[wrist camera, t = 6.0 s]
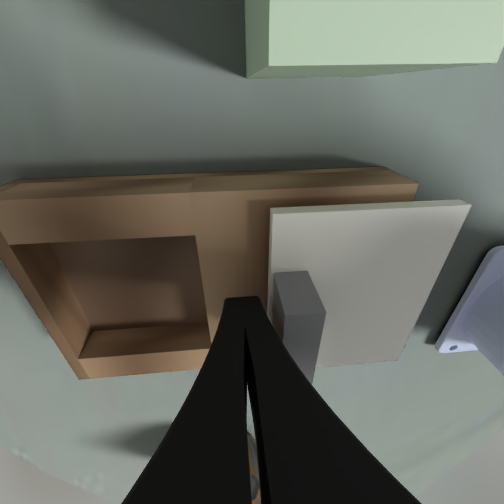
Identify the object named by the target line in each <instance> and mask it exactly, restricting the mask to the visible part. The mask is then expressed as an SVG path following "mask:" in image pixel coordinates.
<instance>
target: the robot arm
mask: <svg viewBox="0 0 504 504" xmlns="http://www.w3.org/2000/svg"><path fill="white" fill-rule="evenodd" d="M435 348H436V350H437V351H438V352H440V353H449V352H461V351H472V350H479V351H480V352H481V353H482V354H483V355H484V356H485V357H486V358H487V359H488V360H489V361H490V362H491V363H492V364H493V365H494V366H495V367H496V368H497V369H498V370H499V371H500V372H501V373H502V374H503V375H504V245H502V246H497V247H494V248H492V249H491V250H490V251H489V252H488V253H487V254H486V256H485V258H484V259H483V261H482V263H481V265H480V266H479V268H478V270H477V272H476V273H475V275H474V277H473V279H472V280H471V282H470V284H469V286H468V287H467V289H466V291H465V293H464V294H463V296H462V298H461V300H460V301H459V303H458V305H457V307H456V309H455V310H454V312H453V314H452V316H451V317H450V319H449V321H448V323H447V324H446V326H445V328H444V330H443V331H442V333H441V335H440V337H439V338H438V340H437V342H436V344H435ZM247 385H248V391H249V398H250V404H251V410H252V416H253V423H254V430H255V438H256V448H257V460H258V472H259V485H260V497H261V504H421V503H420V502H419V501H418V500H417V499H416V498H415V497H414V496H413V495H412V494H411V493H410V492H409V491H408V490H407V489H406V488H405V487H404V486H403V485H402V484H401V483H400V482H399V481H398V480H397V479H396V478H395V477H394V476H393V475H392V474H391V473H390V472H389V471H388V470H387V469H386V468H385V467H384V466H383V465H382V464H381V463H380V462H379V461H378V460H377V459H376V458H375V457H374V456H373V455H372V454H371V453H370V452H369V451H368V450H367V448H366V447H365V446H364V445H363V444H362V443H361V442H360V441H359V440H358V439H357V437H356V436H355V435H354V434H353V433H352V432H351V431H350V430H349V429H348V428H347V426H346V425H345V424H344V423H343V422H342V421H341V420H340V419H339V418H338V416H337V415H336V414H335V413H334V412H333V411H332V409H331V408H330V407H329V406H328V405H327V403H326V402H325V401H324V400H323V399H322V397H321V396H320V395H319V394H318V392H317V391H316V390H315V388H314V387H313V386H312V385H311V383H310V382H309V381H308V379H307V378H306V377H305V375H304V374H303V372H302V371H301V370H300V368H299V367H298V365H297V364H296V363H295V361H294V360H293V358H292V357H291V355H290V354H289V352H288V351H287V349H286V347H285V346H284V344H283V343H282V341H281V339H280V338H279V336H278V334H277V333H276V331H275V329H274V327H273V326H272V324H271V322H270V320H269V318H268V316H267V314H266V312H265V310H264V307H263V305H262V303H261V300H260V298H259V297H258V296H245V297H230V298H226V299H225V300H224V305H223V310H222V314H221V318H220V321H219V324H218V328H217V330H216V333H215V336H214V339H213V341H212V344H211V347H210V349H209V352H208V354H207V356H206V358H205V361H204V363H203V365H202V367H201V370H200V372H199V374H198V376H197V378H196V380H195V382H194V384H193V386H192V388H191V390H190V392H189V394H188V396H187V398H186V400H185V402H184V404H183V406H182V407H181V409H180V411H179V413H178V415H177V416H176V418H175V420H174V421H173V423H172V425H171V427H170V428H169V430H168V432H167V434H166V435H165V437H164V439H163V440H162V442H161V444H160V445H159V447H158V449H157V450H156V452H155V453H154V455H153V456H152V458H151V460H150V461H149V463H148V464H147V466H146V467H145V469H144V470H143V472H142V473H141V475H140V476H139V478H138V479H137V481H136V483H135V484H134V486H133V487H132V489H131V490H130V492H129V493H128V495H127V496H126V498H125V499H124V501H123V502H122V504H252V497H251V482H250V467H249V453H248V438H247V423H246V418H247Z"/></svg>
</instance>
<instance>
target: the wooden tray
mask: <svg viewBox="0 0 504 504" xmlns="http://www.w3.org/2000/svg"><path fill="white" fill-rule="evenodd" d="M418 185H419V183H417V182H415V181H413V180H411V179H409V178H407V177H405V176H403V175H400V174H398V173H396V172H394V171H392V170H390V169H388V168H386V167H362V168H334V169H305V170H277V171H248V172H219V173H191V174H162V175H134V176H105V177H77V178H48V179H20V180H14V181H12V182H9V183H7V184H4V185H2V186H0V258H1V260H2V261H3V263H4V264H5V266H6V267H7V269H8V271H9V272H10V274H11V275H12V277H13V278H14V280H15V281H16V283H17V284H18V286H19V288H20V289H21V291H22V292H23V294H24V295H25V297H26V298H27V300H28V302H29V303H30V305H31V306H32V308H33V309H34V311H35V312H36V314H37V315H38V317H39V319H40V320H41V322H42V323H43V325H44V326H45V328H46V329H47V331H48V333H49V334H50V336H51V337H52V339H53V340H54V342H55V343H56V345H57V346H58V348H59V350H60V351H61V353H62V354H63V356H64V357H65V359H66V360H67V362H68V364H69V365H70V367H71V368H72V370H73V371H74V373H75V374H76V376H77V377H78V379H79V380H80V379H91V378H102V377H114V376H125V375H137V374H148V373H160V372H171V371H183V370H194V369H201V367H202V365H203V363H204V361H205V358H206V356H207V354H208V352H209V349H210V347H211V344H212V341H213V339H214V336H215V333H216V330H217V328H218V324H219V321H220V318H221V314H222V310H223V305H224V300H225V299H226V298H230V297H245V296H258V297H259V298H260V300H261V303H262V305H263V307H264V310H265V312H266V314H267V304H268V269H269V235H270V208H279V207H301V206H323V205H345V204H367V203H389V202H412V201H413V200H414V197H415V194H416V191H417V188H418Z"/></svg>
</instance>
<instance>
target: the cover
mask: <svg viewBox="0 0 504 504" xmlns="http://www.w3.org/2000/svg"><path fill="white" fill-rule="evenodd" d="M471 206H472V205H471V204H469V203H467V202H464V201H462V200H460V199H456V200H434V201H412V202H389V203H367V204H345V205H323V206H301V207H279V208H270V235H269V269H268V304H267V316H268V318H269V320H270V322H271V324H272V326H273V327H274V329H275V331H276V333H277V334H278V336H279V338H280V339H281V341H282V343H283V344H284V346H285V347H286V349H287V351H288V352H289V354H290V355H291V357H292V358H293V360H294V361H295V363H296V364H297V365H298V367H299V368H300V370H301V371H302V372H303V374H304V375H305V377H306V378H307V379H308V381H309V382H310V383H311V384H312V382H313V377H314V372H315V368H319V367H330V366H341V365H352V364H363V363H375V362H386V361H397V360H398V359H399V357H400V355H401V353H402V351H403V349H404V347H405V345H406V342H407V340H408V338H409V336H410V334H411V332H412V330H413V328H414V326H415V324H416V321H417V319H418V317H419V315H420V313H421V311H422V309H423V307H424V305H425V303H426V300H427V298H428V296H429V294H430V292H431V290H432V288H433V286H434V284H435V282H436V279H437V277H438V275H439V273H440V271H441V269H442V267H443V265H444V263H445V261H446V258H447V256H448V254H449V252H450V250H451V248H452V246H453V244H454V242H455V240H456V237H457V235H458V233H459V231H460V229H461V227H462V225H463V223H464V221H465V219H466V216H467V214H468V212H469V210H470V208H471Z"/></svg>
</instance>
